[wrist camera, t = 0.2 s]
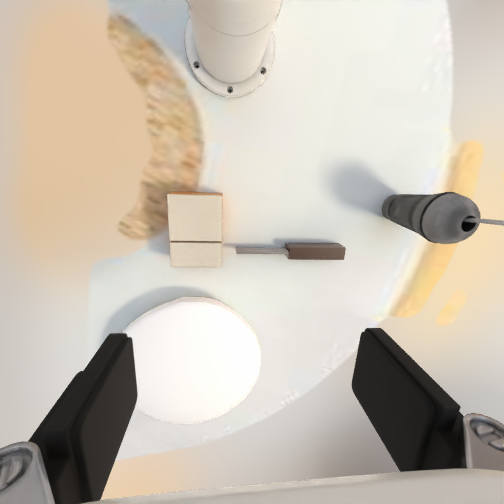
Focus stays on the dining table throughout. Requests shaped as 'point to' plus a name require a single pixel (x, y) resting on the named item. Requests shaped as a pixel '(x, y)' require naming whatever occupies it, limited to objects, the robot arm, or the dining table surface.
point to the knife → (301, 251)
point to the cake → (194, 216)
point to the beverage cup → (436, 215)
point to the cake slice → (196, 253)
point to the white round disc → (192, 360)
